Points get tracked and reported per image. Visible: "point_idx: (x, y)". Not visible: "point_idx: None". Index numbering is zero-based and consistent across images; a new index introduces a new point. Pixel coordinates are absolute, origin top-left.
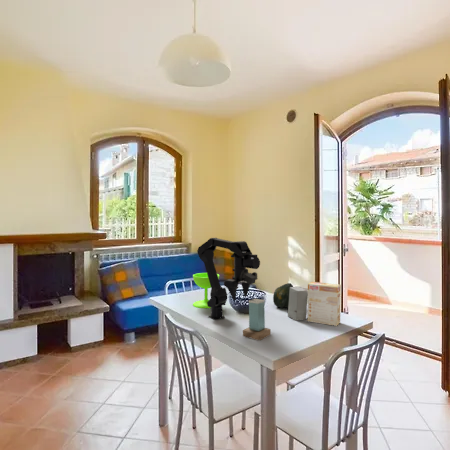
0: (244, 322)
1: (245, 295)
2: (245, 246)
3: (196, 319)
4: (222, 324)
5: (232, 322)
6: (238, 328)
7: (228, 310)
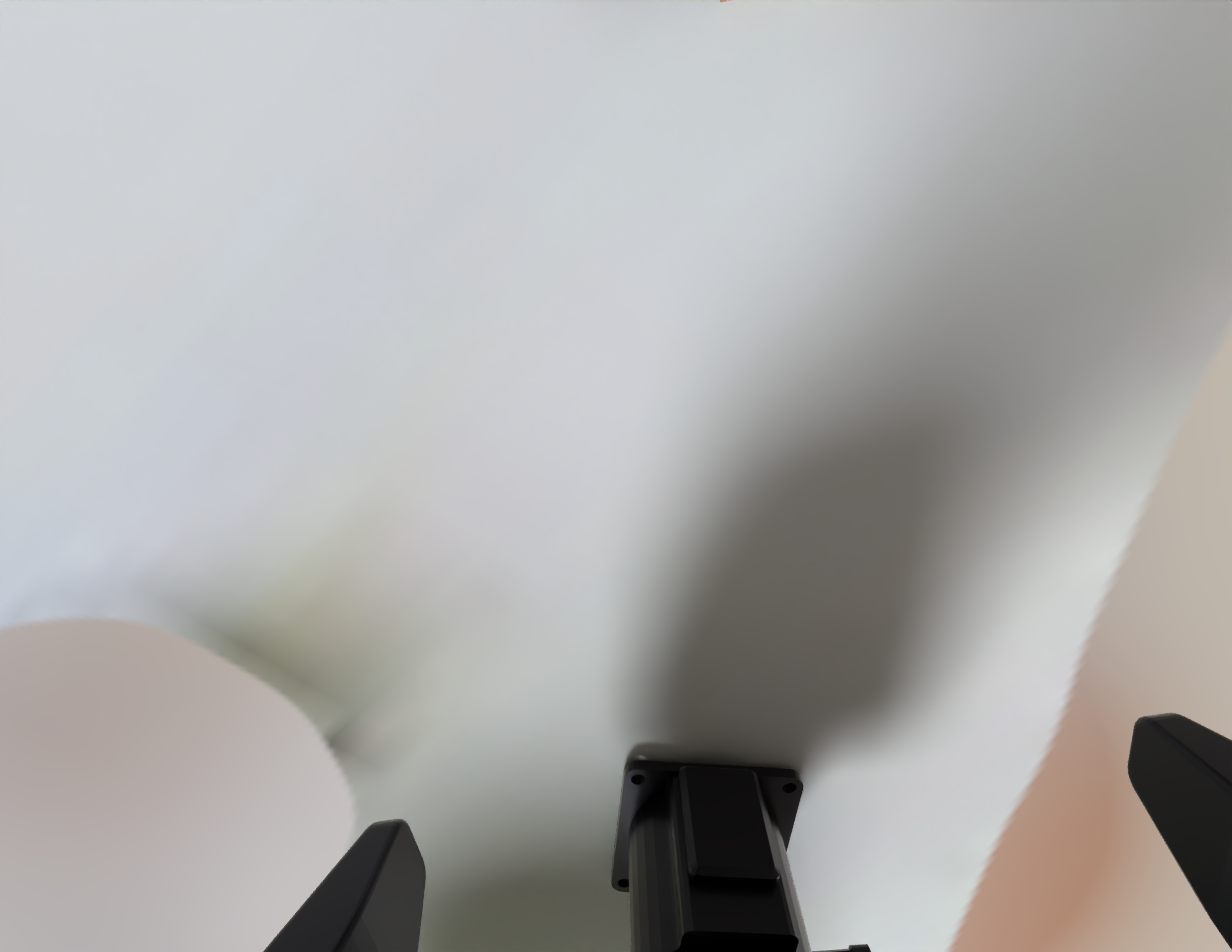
0: (541, 447)
1: (399, 872)
2: None
3: (943, 891)
4: (871, 587)
5: (692, 562)
6: (847, 292)
7: None
